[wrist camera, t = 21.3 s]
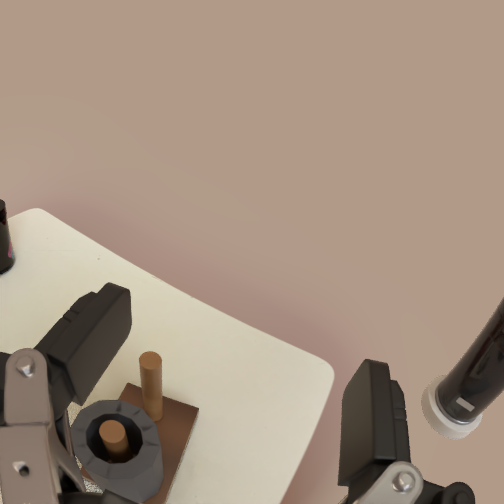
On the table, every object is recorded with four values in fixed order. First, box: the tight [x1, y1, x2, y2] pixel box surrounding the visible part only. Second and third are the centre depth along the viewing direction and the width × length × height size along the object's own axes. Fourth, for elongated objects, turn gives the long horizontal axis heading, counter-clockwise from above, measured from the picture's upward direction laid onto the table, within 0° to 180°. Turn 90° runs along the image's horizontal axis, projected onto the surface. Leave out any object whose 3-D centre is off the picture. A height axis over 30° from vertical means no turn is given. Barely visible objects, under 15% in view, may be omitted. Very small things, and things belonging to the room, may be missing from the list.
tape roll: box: [70, 400, 164, 503], centre depth 20 cm, size 6×6×8 cm
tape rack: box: [80, 352, 199, 504], centre depth 23 cm, size 12×8×10 cm, turn 169°
